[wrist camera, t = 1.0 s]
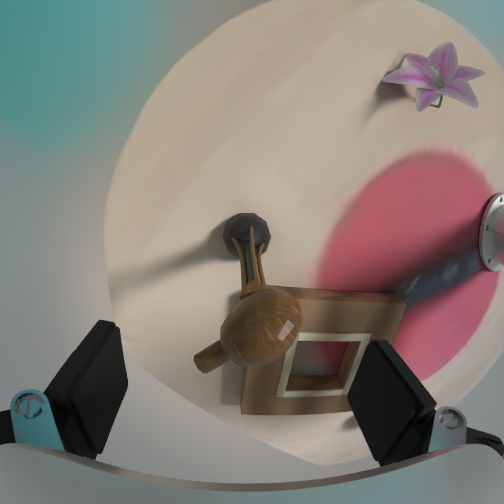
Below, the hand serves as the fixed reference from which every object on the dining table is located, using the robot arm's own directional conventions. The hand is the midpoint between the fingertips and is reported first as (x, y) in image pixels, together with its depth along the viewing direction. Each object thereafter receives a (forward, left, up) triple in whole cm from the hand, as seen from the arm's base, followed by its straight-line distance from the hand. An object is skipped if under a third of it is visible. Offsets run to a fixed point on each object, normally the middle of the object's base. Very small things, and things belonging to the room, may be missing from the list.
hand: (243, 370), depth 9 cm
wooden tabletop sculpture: (0, 0, -21) cm, 21 cm away
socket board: (-11, +14, -21) cm, 27 cm away
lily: (-19, -22, -21) cm, 36 cm away
